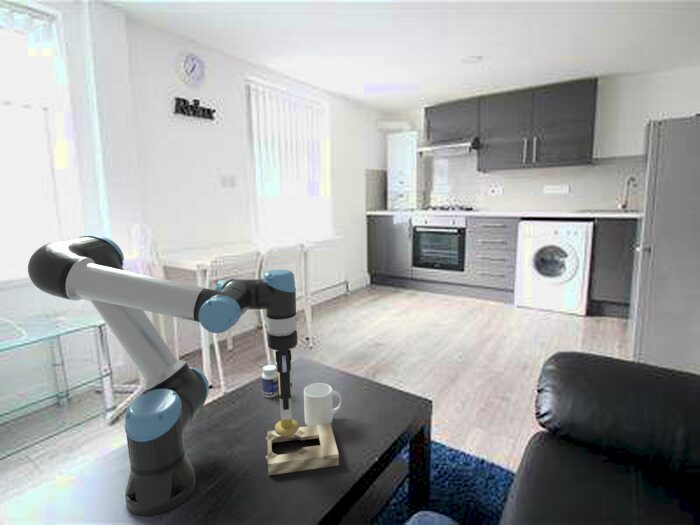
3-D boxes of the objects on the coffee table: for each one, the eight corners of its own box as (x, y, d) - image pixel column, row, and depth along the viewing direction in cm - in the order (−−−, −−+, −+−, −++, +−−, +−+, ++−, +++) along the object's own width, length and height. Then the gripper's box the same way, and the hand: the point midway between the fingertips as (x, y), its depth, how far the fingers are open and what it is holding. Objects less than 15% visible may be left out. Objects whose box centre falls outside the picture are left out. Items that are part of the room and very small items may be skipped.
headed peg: (275, 437, 104) (272, 379, 101) (274, 423, 110) (271, 368, 107) (299, 434, 105) (297, 376, 102) (297, 420, 111) (295, 366, 108)
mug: (347, 423, 123) (346, 390, 121) (310, 433, 118) (309, 399, 116) (336, 409, 131) (335, 378, 129) (301, 418, 126) (300, 386, 124)
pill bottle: (277, 398, 138) (276, 371, 136) (260, 398, 138) (259, 371, 136) (280, 389, 143) (279, 363, 142) (264, 389, 144) (263, 363, 142)
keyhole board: (266, 475, 101) (265, 464, 100) (266, 441, 114) (265, 431, 114) (338, 465, 105) (338, 454, 104) (330, 433, 118) (330, 423, 117)
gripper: (299, 341, 95) (302, 430, 100) (294, 319, 111) (298, 398, 115) (267, 344, 94) (272, 434, 98) (267, 321, 109) (271, 401, 113)
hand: (286, 414), depth 107 cm, fingers closed on headed peg, 3 cm apart
